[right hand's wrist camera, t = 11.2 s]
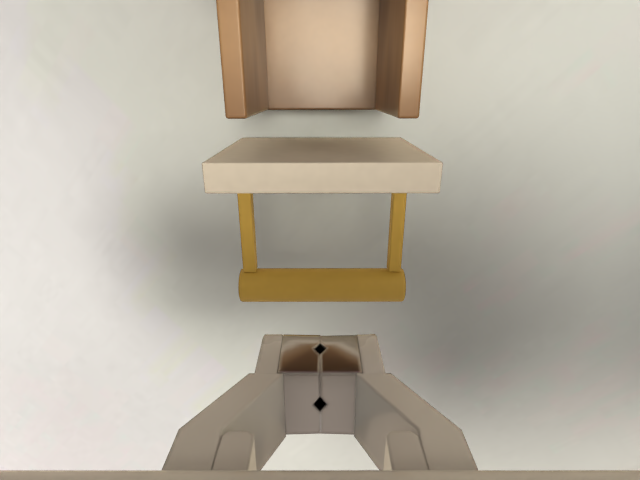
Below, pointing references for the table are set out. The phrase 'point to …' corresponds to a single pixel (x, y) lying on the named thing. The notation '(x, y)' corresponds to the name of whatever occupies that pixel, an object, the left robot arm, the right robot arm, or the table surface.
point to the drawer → (322, 153)
